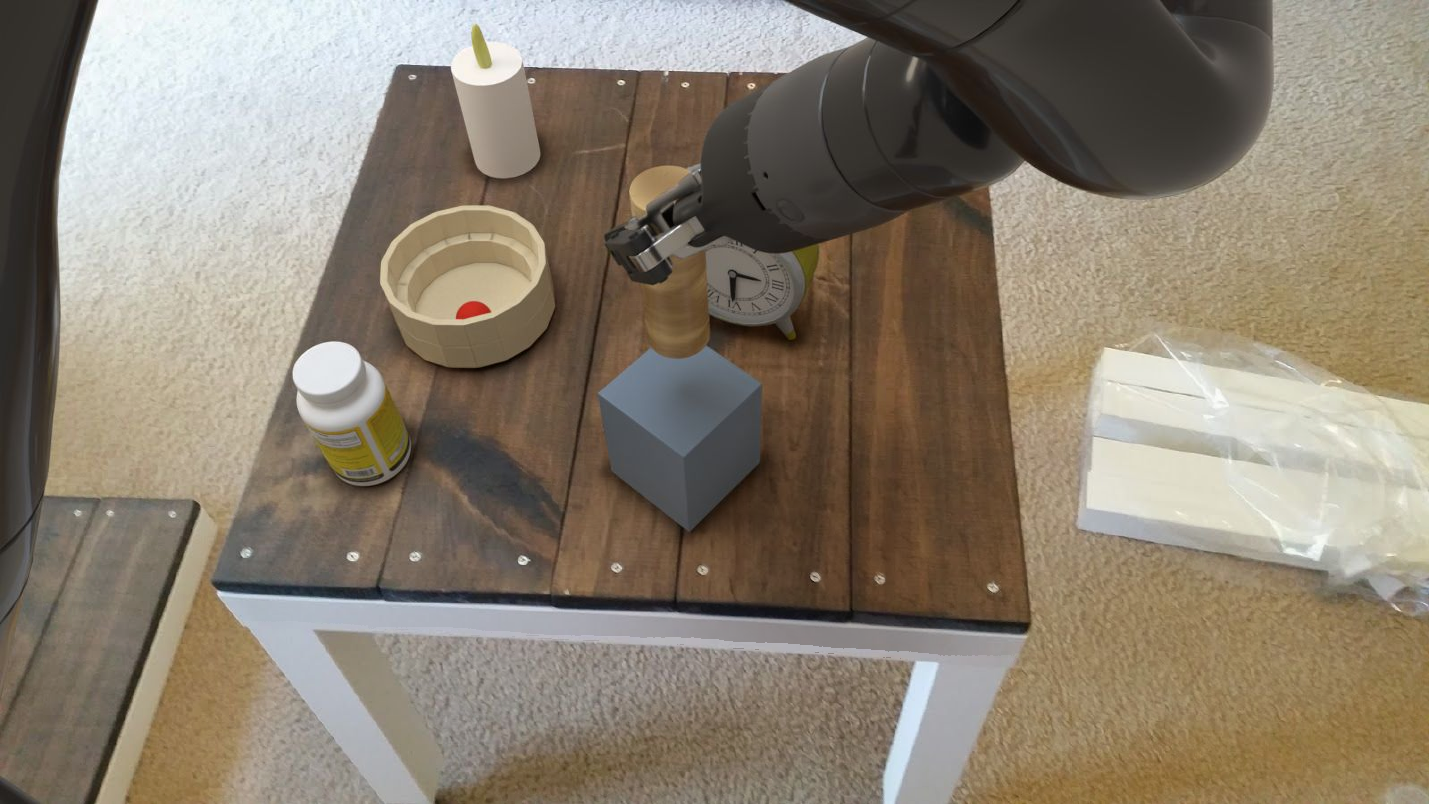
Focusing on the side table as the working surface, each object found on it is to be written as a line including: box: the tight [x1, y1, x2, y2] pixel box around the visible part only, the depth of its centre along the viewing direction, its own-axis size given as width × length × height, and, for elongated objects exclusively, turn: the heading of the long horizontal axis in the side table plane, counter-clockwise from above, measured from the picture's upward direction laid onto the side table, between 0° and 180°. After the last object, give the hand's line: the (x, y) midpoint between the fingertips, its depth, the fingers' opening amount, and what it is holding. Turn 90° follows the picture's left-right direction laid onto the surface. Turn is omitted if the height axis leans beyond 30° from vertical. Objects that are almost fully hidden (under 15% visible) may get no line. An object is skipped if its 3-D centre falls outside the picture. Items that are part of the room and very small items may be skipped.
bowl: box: [379, 204, 556, 369], centre depth 87 cm, size 13×13×6 cm
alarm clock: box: [686, 163, 821, 341], centre depth 83 cm, size 12×7×15 cm, turn 70°
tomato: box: [456, 301, 491, 319], centre depth 86 cm, size 3×3×3 cm
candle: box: [450, 23, 541, 179], centre depth 95 cm, size 6×6×15 cm
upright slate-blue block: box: [597, 345, 763, 533], centre depth 76 cm, size 8×8×10 cm
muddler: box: [628, 165, 711, 359], centre depth 62 cm, size 4×4×12 cm
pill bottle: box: [292, 341, 412, 487], centre depth 76 cm, size 6×6×11 cm
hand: (645, 226), depth 61 cm, fingers closed on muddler, 4 cm apart
